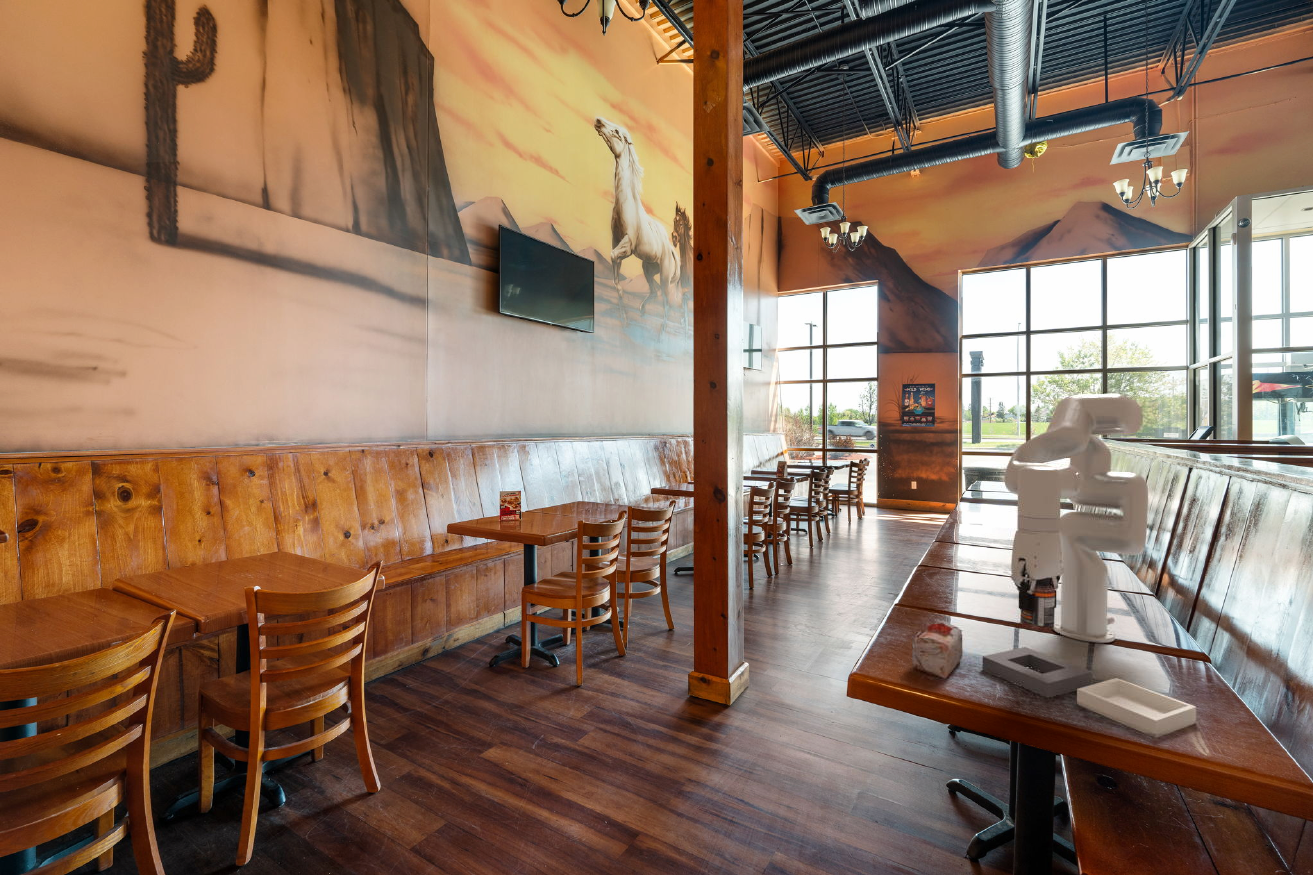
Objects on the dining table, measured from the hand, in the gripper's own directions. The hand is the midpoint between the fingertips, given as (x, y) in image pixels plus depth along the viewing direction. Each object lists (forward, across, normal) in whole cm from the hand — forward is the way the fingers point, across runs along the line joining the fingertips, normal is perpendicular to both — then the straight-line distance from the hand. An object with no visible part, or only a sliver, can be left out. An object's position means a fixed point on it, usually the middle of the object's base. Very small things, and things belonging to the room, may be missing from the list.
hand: (1037, 607), depth 120 cm
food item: (+15, +15, -12) cm, 25 cm away
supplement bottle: (+4, 0, 0) cm, 4 cm away
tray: (+15, -1, +17) cm, 23 cm away
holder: (+15, +1, 0) cm, 15 cm away
